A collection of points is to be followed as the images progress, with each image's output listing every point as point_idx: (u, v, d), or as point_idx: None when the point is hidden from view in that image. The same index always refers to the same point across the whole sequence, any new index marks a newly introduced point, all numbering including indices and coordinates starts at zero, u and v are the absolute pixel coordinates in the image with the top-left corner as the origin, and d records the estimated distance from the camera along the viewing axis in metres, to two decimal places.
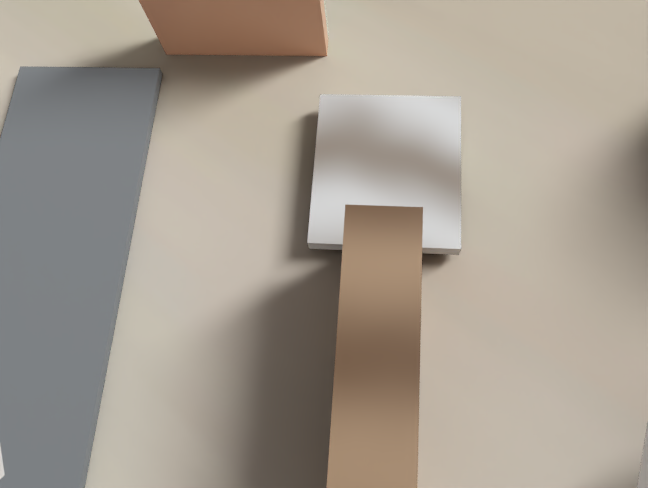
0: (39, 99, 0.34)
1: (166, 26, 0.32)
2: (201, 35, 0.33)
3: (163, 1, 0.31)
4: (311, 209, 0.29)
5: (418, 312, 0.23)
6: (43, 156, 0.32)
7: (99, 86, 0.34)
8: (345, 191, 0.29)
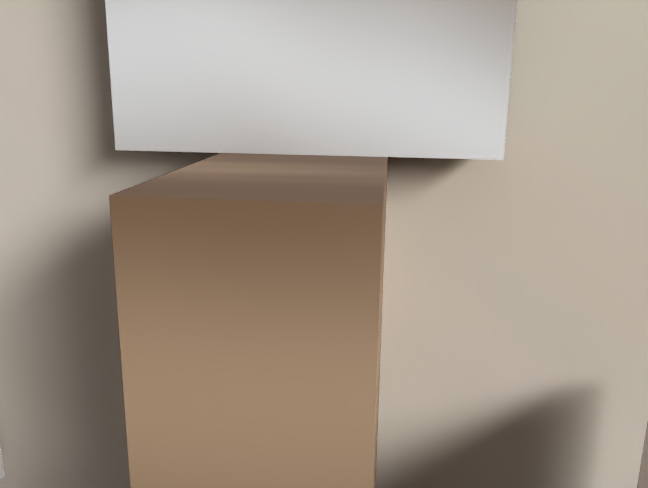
0: None
1: None
2: None
3: None
4: (111, 55, 0.11)
5: None
6: None
7: None
8: None
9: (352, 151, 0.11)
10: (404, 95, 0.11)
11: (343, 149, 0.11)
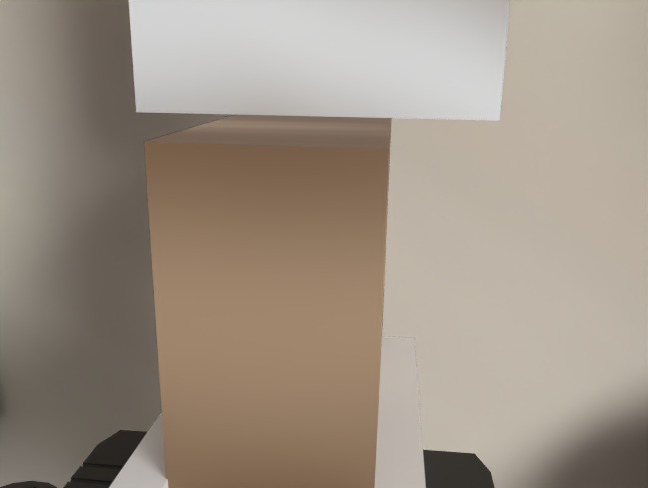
0: None
1: None
2: None
3: None
4: (132, 22, 0.12)
5: (369, 452, 0.09)
6: None
7: None
8: None
9: (358, 112, 0.12)
10: (407, 59, 0.11)
11: (350, 110, 0.12)
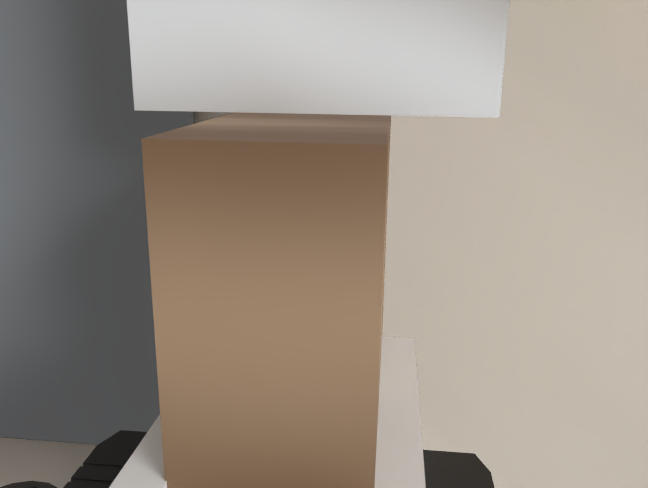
0: None
1: None
2: None
3: None
4: (131, 20, 0.12)
5: (369, 451, 0.08)
6: None
7: None
8: None
9: (357, 110, 0.12)
10: (406, 56, 0.11)
11: (349, 108, 0.12)
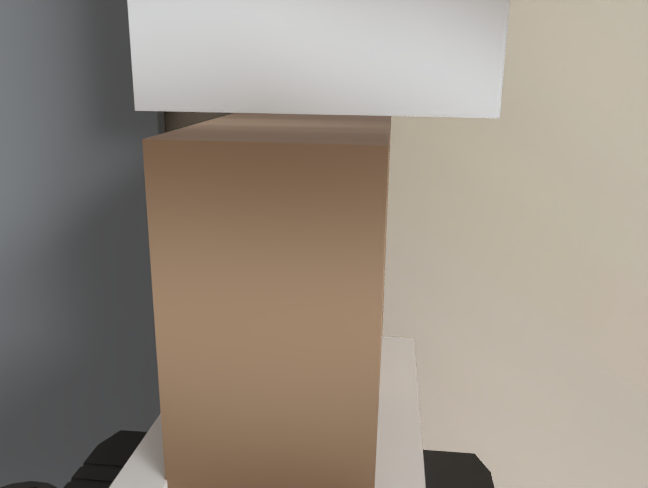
0: None
1: None
2: None
3: None
4: (131, 20, 0.12)
5: (369, 451, 0.08)
6: None
7: (34, 50, 0.16)
8: None
9: (358, 110, 0.12)
10: (407, 57, 0.11)
11: (349, 108, 0.12)
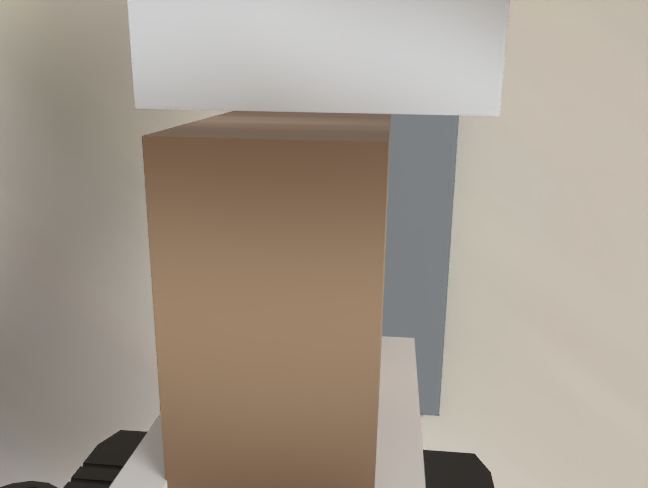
0: None
1: None
2: None
3: None
4: (131, 18, 0.12)
5: (369, 449, 0.08)
6: None
7: None
8: None
9: (358, 108, 0.12)
10: (407, 55, 0.11)
11: (349, 106, 0.12)
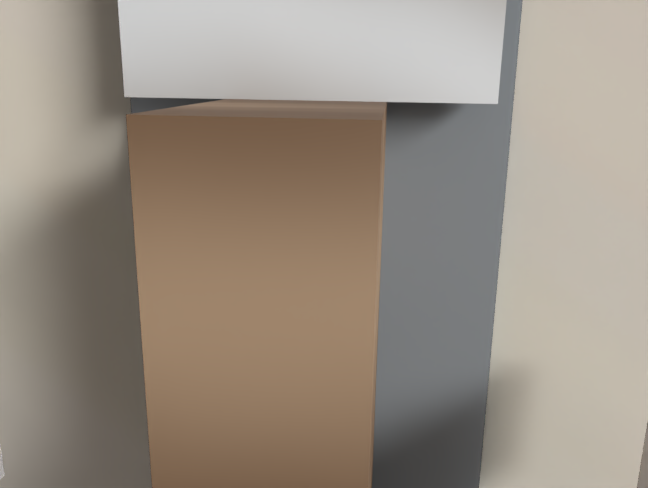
0: None
1: None
2: None
3: None
4: (120, 4, 0.11)
5: (363, 442, 0.08)
6: None
7: None
8: None
9: (352, 96, 0.11)
10: (403, 41, 0.11)
11: (344, 94, 0.11)
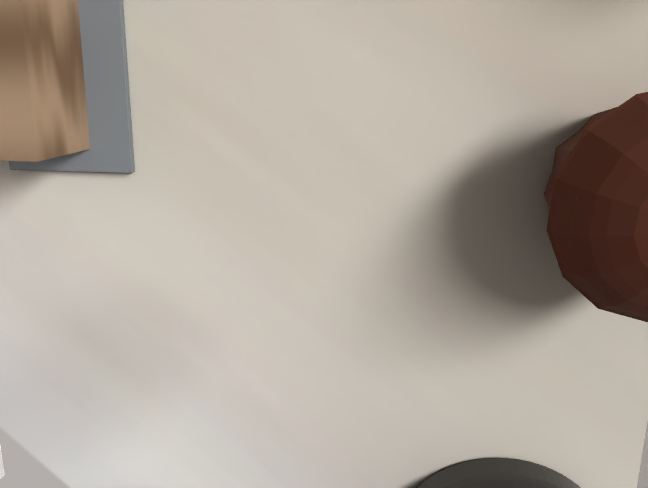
0: None
1: None
2: None
3: None
4: None
5: (18, 3, 0.31)
6: None
7: None
8: None
9: None
10: None
11: None
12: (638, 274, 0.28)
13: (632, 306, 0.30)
